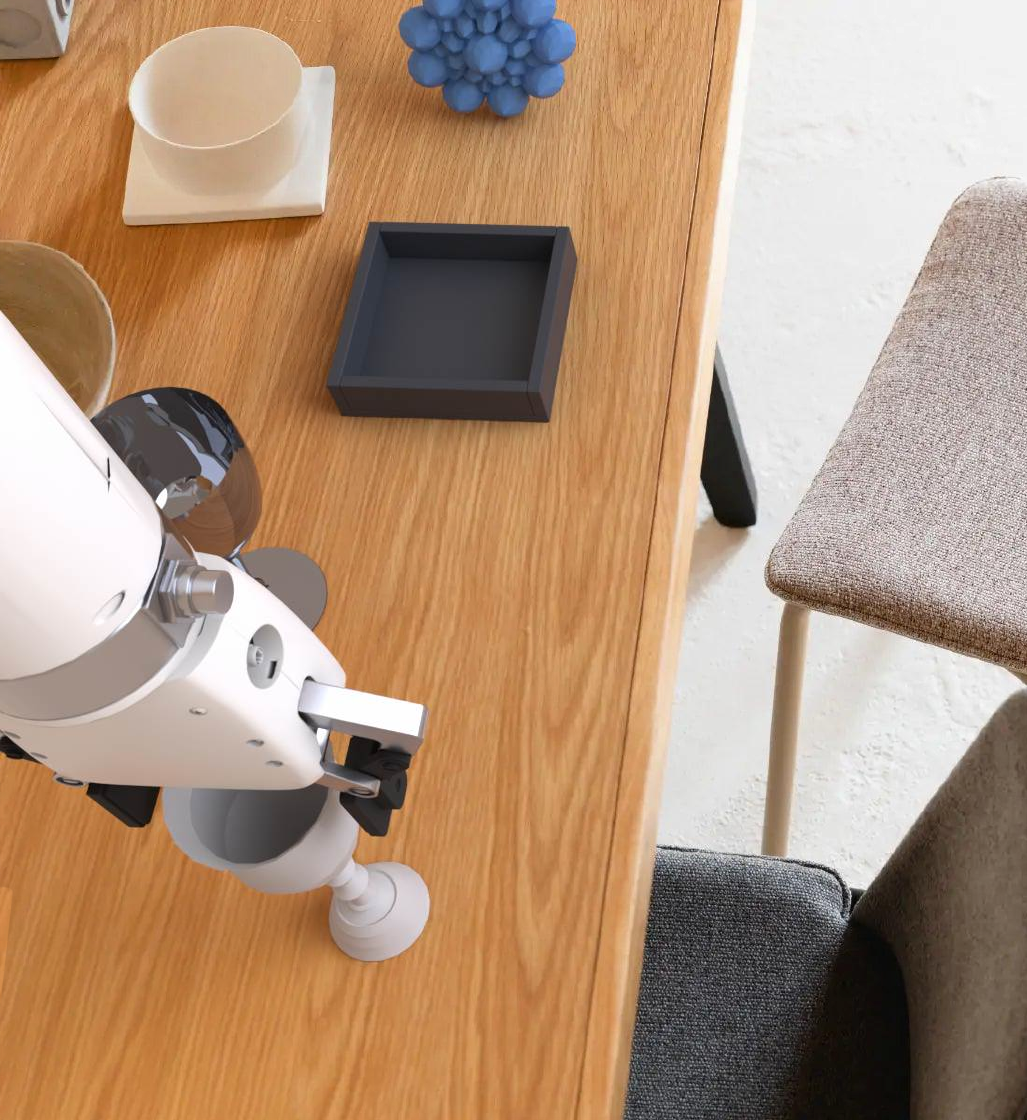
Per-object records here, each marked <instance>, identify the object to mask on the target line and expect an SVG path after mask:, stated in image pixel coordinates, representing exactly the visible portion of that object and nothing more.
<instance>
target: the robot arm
mask: <svg viewBox="0 0 1027 1120" xmlns="http://www.w3.org/2000/svg"><path fill="white" fill-rule="evenodd" d="M7 317H8V316H6V315H5V313H3V311H2V310H0V753H3V754H4V756H5V758H7V759H10V760H15V761H20V760H25V761H29V762H32V763H36V764H39V765H43V766H45V767H47V768H48V769H50V770H52V771H53V772H54V773H53V776H52V781H53V782H55V783H56V784H59V785H62V786H64V787H68V788H69V787H70V788H76V789H77V788H79V789H80V788H86V787H87V789H86V792H85V795H86V796H87V797H89V798H90V799H91V800H93V801H94V802H95V803H96V804H98V805H99V806H100V807H102V808H103V809H104V810H106V811H107V812H109V814H111V815H112V816H113V817H115V818H116V819H117V820H119V821H120V822H122V824H124V825H125V826H126V827H128V828H137V829H143V828H145V827H146V826H147V825H150V824H151V822H152V819H153V815H154V812H155V809H156V806H157V801H158V798H159V795H160V791H161V787H162V788H163V787H186V788H215V789H250V790H291V789H299V788H304V787H307V786H309V785H311V784H313V783H317V784H320V785H323V786H326V787H329V788H332V789H335V790H338V791H340V795H339V802H340V804H341V805H342V806H343V807H344V809H345V810H346V811H347V812H348V813H349V814H350V815H351V816H352V817H353V818H354V820H355V821H356V822H357V823H358V824H359V827H361V829H362V830H363V831H364V832H365V833H367V834H368V835H369V836H370V837H378V838H384V837H386V836H387V835H388V832H389V828H390V823H391V819H392V813H393V810H401V809H402V808H403V806H404V803H405V799H406V795H407V789H408V774H407V771H406V770H408V769H409V768H410V765H411V761H412V758H413V756H416V754H417V753H418V751H419V750H420V748H421V746H422V745H423V743H424V740H425V734H426V729H427V724H428V720H429V714H430V709H429V708H428V707H427V706H425V705H424V704H420V703H417V702H411V701H406V700H402V699H398V698H395V697H390V696H384V695H380V694H376V693H370V692H367V691H361V690H356V689H353V688H349V687H346V682H347V675H346V672H345V671H344V669H343V667H342V666H341V664H340V663H339V661H338V660H337V659H336V657H335V656H334V655H333V654H332V652H331V651H330V650H329V649H328V648H327V647H326V645H325V644H324V643H323V641H321V639H319V637H317V635H316V634H315V633H314V632H313V631H311V630H310V629H309V628H308V627H307V626H306V625H305V624H304V623H303V622H302V621H301V620H300V619H299V617H298V616H297V615H295V614H294V613H293V612H292V611H291V610H290V609H289V608H288V607H287V606H286V605H285V604H284V603H283V602H282V601H281V600H279V599H278V598H277V597H276V596H275V595H273V594H272V593H271V592H270V591H269V590H268V589H266V588H265V587H264V586H263V585H261V584H260V583H259V582H257V581H256V580H255V579H253V578H252V577H251V576H249V575H248V574H246V573H245V572H244V571H242V570H241V569H239V568H237V567H236V566H234V565H233V564H231V563H229V562H228V561H226V560H225V559H223V558H221V557H219V556H216V555H211V554H206V553H200V552H195V551H194V549H193V548H192V546H191V545H190V543H189V542H188V541H187V540H186V538H185V537H184V536H183V535H182V534H181V532H180V531H179V530H178V529H177V527H176V526H175V525H174V524H173V523H172V521H171V520H170V519H169V518H168V516H167V515H166V514H165V513H164V511H163V510H162V509H161V508H160V506H159V505H158V504H157V503H156V502H155V500H154V499H153V498H152V497H151V495H150V494H149V493H148V492H147V490H146V489H145V488H144V487H143V486H142V485H141V484H140V483H139V481H138V480H137V479H136V478H135V477H134V475H133V474H132V473H131V472H130V470H129V469H128V468H127V467H126V465H125V464H124V463H123V462H122V460H121V459H120V458H119V457H118V456H117V454H116V453H115V452H114V451H113V449H112V448H111V447H110V446H109V444H108V443H107V442H106V441H105V439H104V438H103V437H102V436H101V435H100V433H99V432H98V431H97V429H96V428H95V427H94V426H93V424H92V423H91V422H90V419H89V418H88V417H87V415H85V413H84V412H83V411H82V409H81V408H80V407H79V406H78V404H77V403H76V402H75V401H74V399H73V398H72V397H71V395H70V394H68V392H67V391H66V390H65V388H64V387H63V386H62V384H61V383H60V382H59V381H58V380H57V378H56V376H55V375H54V374H53V373H52V372H51V371H50V370H49V368H48V367H47V366H46V364H45V363H44V362H43V361H42V360H41V358H40V357H39V356H38V355H37V353H36V352H35V351H34V350H33V348H32V347H31V346H30V345H29V343H28V342H27V341H26V340H25V339H24V337H23V336H22V334H21V333H20V332H19V331H18V330H17V328H16V327H15V326H14V324H13V323H12V322H11V321H10V319H8V318H7ZM331 732H335V733H340V734H344V735H348V736H351V737H350V738H349V741H348V747H347V750H346V756H345V759H344V764H340V763H338V762H337V763H335V762H332V761H329V760H326V759H325V754H326V750H327V746H328V742H329V739H330V736H331V734H332V733H331ZM324 759H325V760H324Z"/></svg>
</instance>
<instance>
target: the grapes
mask: <svg viewBox="0 0 1027 1120" xmlns="http://www.w3.org/2000/svg"><path fill="white" fill-rule="evenodd" d="M421 3H422V5H416V6H412V7H409V8H408V9H407V10H406V11H405V12H404V13H402V14H401V17H400V18H399V22H398V26H397V27H398V32H399V37H400V38H401V40H402V41H403V43H404V44H405V45H406V47H408V48H410V49H411V50H412V51H411V52H410V54H409V57H408V59H407V63H406V64H407V69H408V74H409V75H410V77H411V79H412V80H413V82H414V83H415V84H417V85H418V86H420V87H422V88H426V89H433V88H437V87H441V86H442V87H441V95H442V100H443V102H444V103H445V104H446V106H447V107H448V108H449V110H451V111H452V112H454V113H457V114H469V113H472V112H475V111H477V110H478V109H479V108H480V107H482V106H483V104H484V102H485V101H486V105H487V107H488V108H489V109H490V111H491V112H492V113H493V114H494V115H496V116H498V117H500V118H505V119H506V118H507V119H509V118H514V117H517V116H519V115H520V114H522V113H523V112H524V111H525V110H526V109H527V107H528V104H529V102H530V96H531V97H533V98H535V99H540V100H544V99H545V100H546V99H549V98H553V97H555V96H556V95H557V94H558V93H559V92H560V91H561V90H562V89H563V86H564V84H565V82H566V76H565V68H564V66H563V65H562V63H565V62H566V61H568V60H569V59H570V58H571V57H572V56H573V54H574V52H575V50H576V47H577V39H576V32H575V30H574V28H573V27H572V25H570V24H571V23H569V22H567V21H565V20H563V19H559V18H554V17H555V14H556V12H557V1H556V0H421Z"/></svg>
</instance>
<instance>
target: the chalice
mask: <svg viewBox="0 0 1027 1120" xmlns="http://www.w3.org/2000/svg"><path fill="white" fill-rule="evenodd" d="M334 753H335V752H334V747H333V743H332V741H331V738H329V742H328V746H327V750H326V754H325V759H326V760H329V761H332V762H335V763H338V762H337V761H336V759H335V754H334ZM325 759H324V760H325ZM339 795H340V791H338V790H335V789H332V788H329V787H326V786H323V785H320V784H317V783H313V784H311V785H309V786H307V787H304V788H299V789H291V790H250V789H215V788H186V787H162V791H161V802H162V811H163V812H162V813H163V822H164V824H165V826H166V828H167V830H168V833H169V835H170V837H171V839H172V841H173V843H174V844H175V846H177V847H178V849H180V850H181V851H182V852H183V853H184V854H185V855H186V856H187V857H189V859H191V861H192V862H195V863H197V864H200V865H202V866H205V867H208V868H210V869H213V870H216V871H228V872H229V873H230V874H231V875H233V876H234V877H235V878H236V879H238V880H239V881H240V882H241V883H242V884H244V885H245V886H246V887H248V888H250V889H253V890H256V891H258V892H261V893H264V894H266V895H292V894H293V895H294V894H304V893H307V892H310V891H313V890H316V889H319V888H322V887H323V886H325V885H327V886H329V887H331V891H332V892H333V894H332V899H331V902H330V906H329V913H328V925H329V932H330V936H331V937H332V939H333V940H334V942H335V944H336V946H337V947H338V948H339V950H340V951H342V952H344V953H345V954H346V955H347V956H349V957H351V958H353V959H356V960H359V961H363V962H382V961H385V960H388V959H391V958H395V957H397V956H399V955H400V954H401V953H403V952H404V951H406V950H407V949H409V948H410V947H411V946H412V945H413V944H414V943H415V942H416V941H417V939H418V938H419V937H420V936H421V935H422V933H423V932H424V931H423V930H424V929H425V926H426V924H427V922H428V919H429V915H430V906H431V899H430V894H429V890H428V889H429V888H428V886H427V885H426V883H425V881H424V880H423V878H422V877H421V875H420V873H418V872H416V871H415V870H414V869H413V868H411V867H410V866H409V865H406V864H403V863H401V862H396V861H377V862H371V863H368V864H364V865H362V864H361V863H357V862H355V860H354V859H353V854H354V853H355V852H354V851H355V849H356V848H357V845H358V838H359V830H360V825H359V824H358V823H357V822H356V821H355V820H354V818H353V817H352V816H351V815H350V814H349V813H348V812H347V811H346V810H345V809H344V807H343V806H342V805H341V804H340V802H339Z"/></svg>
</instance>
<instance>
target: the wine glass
mask: <svg viewBox="0 0 1027 1120" xmlns="http://www.w3.org/2000/svg"><path fill="white" fill-rule="evenodd" d="M89 421H90V422H91V423H92V424H93V426H94V427H95V428H96V429H97V431H98V432H99V433H100V435H101V436H102V437H103V438H104V439H105V441H106V442H107V443H108V444H109V446H110V447H111V448H112V449H113V451H114V452H115V453H116V454H117V456H118V457H119V458H120V459H121V460H122V462H123V463H124V464H125V465H126V467H127V468H128V469H129V470H130V472H131V473H132V474H133V475H134V477H135V478H136V479H137V480H138V481H139V483H140V484H141V485H142V486H143V487H144V488H145V489H146V490H147V492H148V493H149V494H150V495H151V497H152V498H153V499H154V500H155V502H156V503H157V504H158V505H159V506H160V508H161V509H162V510H163V511H164V513H165V514H166V515H167V516H168V518H169V519H170V520H171V521H172V523H173V524H174V525H175V526H176V527H177V529H178V530H179V531H180V532H181V534H182V535H183V536H184V537H185V538H186V540H187V541H188V542H189V543H190V545H191V546H192V548H193V549H194V551H195V552H200V553H206V554H211V555H216V556H219V557H221V558H223V559H225V560H226V561H228V562H229V563H231V564H233V565H234V566H236V567H237V568H239V569H241V570H242V571H244V572H245V573H246V574H248V575H249V576H251V577H252V578H253V579H255V580H256V581H257V582H259V583H260V584H261V585H263V586H264V587H265V588H266V589H268V590H269V591H270V592H271V593H272V594H273V595H275V596H276V597H277V598H278V599H279V600H281V601H282V602H283V603H284V604H285V605H286V606H287V607H288V608H289V609H290V610H291V611H292V612H293V613H294V614H295V615H297V616H298V617H299V619H300V620H301V621H302V622H303V623H304V624H305V625H306V626H307V627H308V628H309V629H310V630H311V631H312V632H313V631H314V630H315V628H316V627H317V626H318V624H319V623H320V621H321V618H322V617H323V616H324V613H325V610H326V607H327V602H328V584H327V580H326V577H325V574H324V573H323V571H322V569H321V567H320V566H319V565H318V564H317V563H316V561H315V560H314V559H312V558H311V557H309V556H308V555H306V554H305V553H302V552H300V551H298V550H295V549H292V548H288V547H280V546H279V547H278V546H274V547H261V548H257V549H254V550H253V549H252V550H250V551H248V552H245V553H243V554H241V552H240V551H241V550H243V548H244V547H245V546H246V545H247V544H248V542H249V541H250V540H251V538H252V537H253V535H254V533H255V531H256V529H258V526H259V523H260V520H261V517H262V509H263V490H262V485H261V479H260V475H259V472H258V468H257V466H256V462H255V459H254V456H253V453H252V452H251V450H250V448H249V446H248V444H247V443H246V441H245V439H244V437H243V435H242V434H241V432H240V429H239V427H238V426H237V425H236V423H235V422H234V420H233V418H232V417H231V416H230V414H229V413H228V412H227V411H226V410H225V409H224V407H223V406H222V405H221V404H220V403H219V402H217V400H215V399H214V398H212V397H211V396H209V395H207V394H204V393H203V392H200V391H199V390H195V389H191V388H186V387H180V386H179V387H178V386H164V387H162V386H161V387H160V386H159V387H152V388H148V389H143V390H139V391H136V392H133V393H131V394H128V395H125V396H122V397H121V398H119V399H117V400H115V401H113V402H111V403H110V404H109V405H107V406H105V407H104V408H103V409H101V410H100V411H99V412H97V413H96V414H95V415H94V416H93V417H91V418H90V419H89Z"/></svg>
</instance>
